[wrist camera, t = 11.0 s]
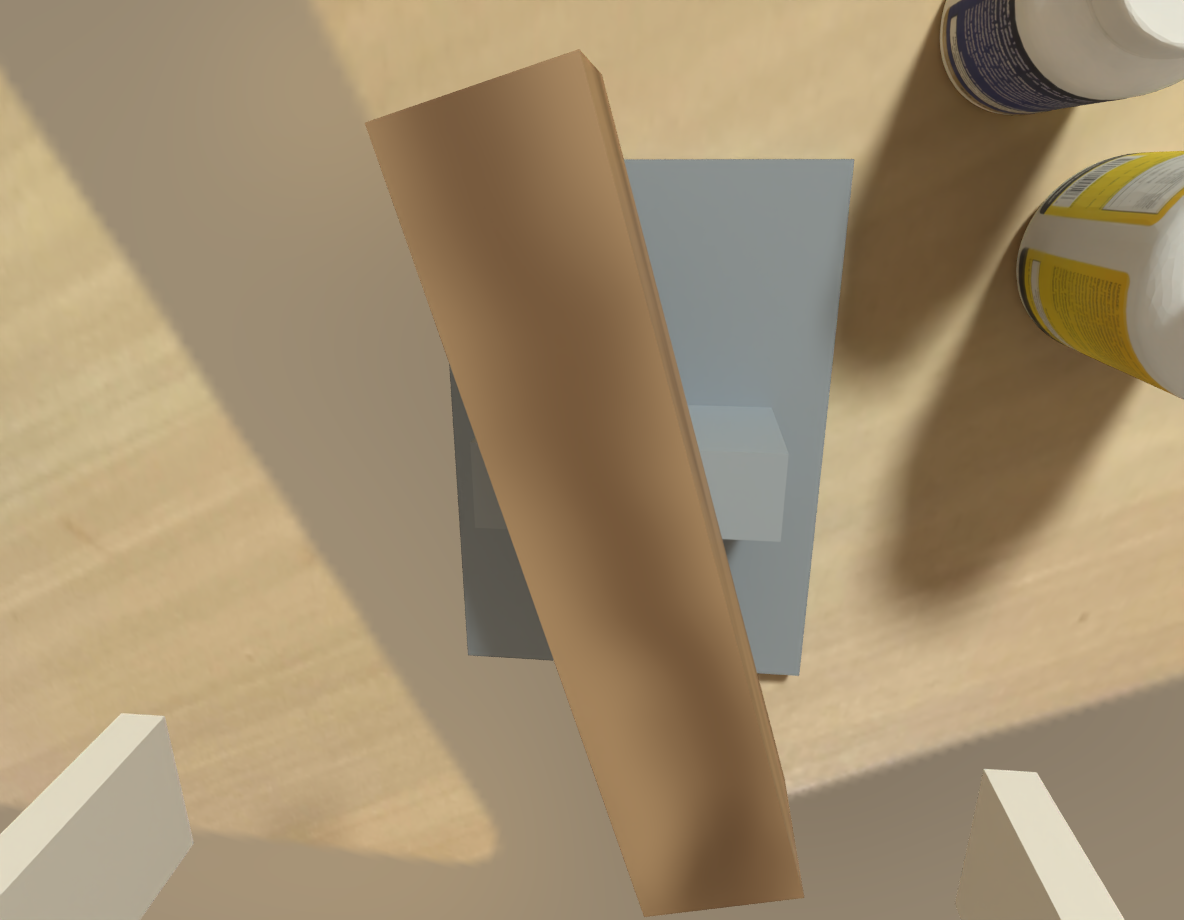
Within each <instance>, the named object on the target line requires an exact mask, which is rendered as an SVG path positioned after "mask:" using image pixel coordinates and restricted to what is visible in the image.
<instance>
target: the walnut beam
mask: <svg viewBox="0 0 1184 920" xmlns="http://www.w3.org/2000/svg"><path fill="white" fill-rule="evenodd" d="M365 125H366V128H367V131H368V133H369V136H370V139H371V142H372V145H373V148H374V150H375V153H376V156H377V159H378V162H379V165H380V168H381V170H382V173H383V176H384V179H385V182H386V185H387V187H388V190H389V193H390V196H391V199H392V202H393V204H394V207H395V210H396V213H397V216H398V219H399V222H400V224H401V227H402V230H403V233H404V236H405V239H406V241H407V244H408V247H409V250H410V253H411V255H412V258H413V261H414V264H415V267H416V270H417V272H418V276H419V278H420V281H421V284H422V287H423V289H424V293H425V295H426V298H427V301H428V304H429V307H430V310H431V312H432V315H433V318H434V321H435V324H436V327H437V330H438V332H439V335H440V338H441V341H442V344H443V347H444V349H445V352H446V355H447V358H448V360H449V364H450V366H451V369H452V372H453V375H454V378H455V381H456V384H457V386H458V389H459V392H460V395H461V398H462V401H463V403H464V406H465V409H466V412H467V415H468V418H469V420H470V423H471V426H472V429H473V432H474V435H475V438H476V440H477V443H478V446H479V449H480V452H481V455H482V457H483V460H484V463H485V466H486V469H487V472H488V474H489V477H490V480H491V483H492V486H493V489H494V492H495V494H496V497H497V500H498V503H499V506H500V509H501V511H502V514H503V517H504V520H505V523H506V526H507V528H508V531H509V534H510V537H511V540H512V543H513V546H514V548H515V551H516V554H517V557H518V560H519V563H520V565H521V568H522V571H523V574H524V577H525V580H526V582H527V585H528V588H529V591H530V594H531V597H532V599H533V602H534V605H535V608H536V611H537V614H538V617H539V619H540V622H541V625H542V628H543V631H544V634H545V636H546V639H547V642H548V645H549V648H550V651H551V653H552V656H553V659H554V662H555V665H556V668H557V671H558V673H559V676H560V679H561V682H562V685H563V688H564V690H565V693H566V696H567V699H568V702H569V704H570V707H571V710H572V713H573V716H574V719H575V722H576V725H577V727H578V730H579V733H580V736H581V739H582V741H583V744H584V747H585V750H586V753H587V755H588V759H589V761H590V764H591V767H592V770H593V773H594V776H595V778H596V781H597V784H598V787H599V790H600V793H601V795H602V798H603V801H604V804H605V807H606V810H607V813H608V815H609V818H610V821H611V824H612V827H613V830H614V832H615V835H616V838H617V841H618V843H619V847H620V850H621V852H622V855H623V858H624V861H625V864H626V867H627V869H628V872H629V875H630V878H631V881H632V884H633V887H634V889H635V892H636V895H637V898H638V900H639V904H640V906H641V909H642V912H643V915H644V917H648V916H656V915H665V914H673V913H682V912H689V911H698V910H707V909H715V908H723V907H731V906H740V905H748V904H757V903H764V902H773V901H781V900H789V899H798V898H804V893H803V887H802V881H801V875H800V869H799V863H798V857H797V851H796V845H795V839H794V833H793V827H792V821H791V815H790V809H789V804H788V797H787V791H786V785H785V779H784V775H783V771H782V767H781V763H780V760H779V756H778V752H777V748H776V744H775V740H774V737H773V733H772V729H771V725H770V721H769V717H768V713H767V710H766V706H765V702H764V698H763V694H762V690H761V686H760V683H759V679H758V675H757V671H756V667H755V663H754V659H753V656H752V652H751V648H750V644H749V640H748V636H747V632H746V629H745V625H744V621H743V617H742V613H741V609H740V605H739V602H738V598H737V594H736V590H735V586H734V582H733V578H732V575H731V571H730V567H729V563H728V559H727V555H726V552H725V548H724V544H723V540H722V536H721V532H720V528H719V525H718V521H717V517H716V513H715V509H714V505H713V501H712V498H711V494H710V490H709V486H708V482H707V478H706V474H705V471H704V467H703V463H702V459H701V455H700V451H699V447H698V444H697V440H696V436H695V432H694V428H693V424H692V420H691V417H690V413H689V409H688V405H687V401H686V397H685V394H684V390H683V386H682V382H681V378H680V374H679V370H678V367H677V363H676V359H675V355H674V351H673V347H672V343H671V340H670V336H669V332H668V328H667V324H666V320H665V316H664V313H663V309H662V305H661V301H660V297H659V293H658V289H657V286H656V282H655V278H654V274H653V270H652V266H651V262H650V259H649V255H648V251H647V247H646V243H645V239H644V236H643V232H642V228H641V224H640V220H639V216H638V212H637V209H636V205H635V201H634V197H633V193H632V189H631V185H630V182H629V178H628V174H627V170H626V166H625V162H624V158H623V155H622V151H621V147H620V143H619V139H618V135H617V131H616V128H615V124H614V120H613V116H612V112H611V108H610V104H609V101H608V97H607V93H606V89H605V85H604V81H603V77H602V74H601V73H600V72H599V71H598V70H597V69H596V68H595V66H594V65H593V64H592V63H591V62H590V61H589V60H588V59H587V57H586V56H585V55H584V54H583V53H582V52H581V51H580V50H579V49H578V50H575V51H572V52H569V53H567V54H564V55H561V56H558V57H555V58H552V59H549V60H546V61H543V62H540V63H537V64H535V65H532V66H529V67H526V68H523V69H520V70H517V71H514V72H511V73H508V74H505V75H503V76H500V77H497V78H494V79H491V80H488V81H485V82H482V83H479V84H476V85H473V86H470V87H468V88H465V89H462V90H459V91H456V92H453V93H450V94H447V95H444V96H441V97H438V98H436V99H433V100H430V101H427V102H424V103H421V104H418V105H415V106H412V107H409V108H406V109H404V110H401V111H398V112H395V113H392V114H389V115H386V116H383V117H380V118H377V119H374V120H372V121H369V122H366V123H365Z"/></svg>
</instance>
